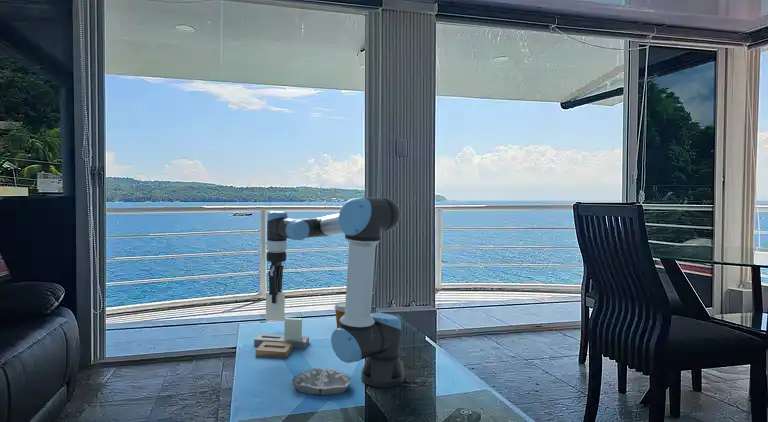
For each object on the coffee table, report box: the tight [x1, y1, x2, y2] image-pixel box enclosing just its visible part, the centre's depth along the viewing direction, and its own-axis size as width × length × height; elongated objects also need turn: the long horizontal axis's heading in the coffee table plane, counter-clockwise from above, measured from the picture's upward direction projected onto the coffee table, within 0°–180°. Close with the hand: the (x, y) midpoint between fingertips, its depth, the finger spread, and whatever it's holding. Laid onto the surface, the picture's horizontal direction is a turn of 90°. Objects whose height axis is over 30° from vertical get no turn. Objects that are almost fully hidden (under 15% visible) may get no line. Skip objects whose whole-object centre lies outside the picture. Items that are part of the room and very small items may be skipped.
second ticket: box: [283, 317, 303, 340], centre depth 216 cm, size 2×7×11 cm, turn 85°
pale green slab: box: [265, 291, 286, 322], centre depth 205 cm, size 2×7×11 cm, turn 85°
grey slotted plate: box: [253, 332, 310, 350], centre depth 217 cm, size 8×21×2 cm, turn 85°
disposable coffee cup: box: [334, 301, 346, 329], centre depth 238 cm, size 10×10×12 cm
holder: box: [255, 341, 294, 359], centre depth 207 cm, size 10×12×2 cm
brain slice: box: [291, 368, 352, 396], centre depth 177 cm, size 20×17×3 cm
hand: (275, 310), depth 205 cm, fingers closed on pale green slab, 2 cm apart
